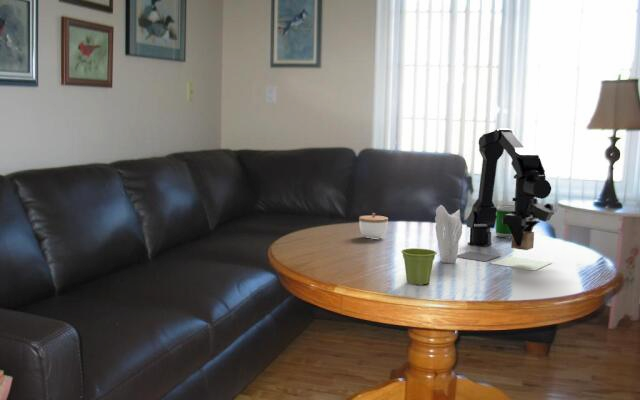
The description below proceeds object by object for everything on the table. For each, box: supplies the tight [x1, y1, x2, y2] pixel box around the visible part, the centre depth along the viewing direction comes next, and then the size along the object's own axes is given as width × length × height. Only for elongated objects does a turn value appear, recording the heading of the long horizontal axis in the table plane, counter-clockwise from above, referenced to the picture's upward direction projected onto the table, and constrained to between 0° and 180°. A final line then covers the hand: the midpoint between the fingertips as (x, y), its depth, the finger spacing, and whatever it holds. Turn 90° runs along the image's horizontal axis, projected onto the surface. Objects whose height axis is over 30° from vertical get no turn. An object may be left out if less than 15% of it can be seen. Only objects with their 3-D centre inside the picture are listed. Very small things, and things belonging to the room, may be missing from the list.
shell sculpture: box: [434, 204, 463, 264], centre depth 205 cm, size 8×8×18 cm
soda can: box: [495, 204, 515, 239], centre depth 252 cm, size 8×8×12 cm
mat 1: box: [457, 250, 501, 263], centre depth 215 cm, size 11×11×1 cm
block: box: [510, 231, 535, 251], centre depth 205 cm, size 5×5×5 cm
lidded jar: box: [358, 212, 389, 238], centre depth 246 cm, size 11×11×9 cm
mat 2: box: [490, 255, 553, 272], centre depth 206 cm, size 14×14×1 cm
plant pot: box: [400, 247, 437, 286], centre depth 179 cm, size 9×9×9 cm
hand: (522, 244), depth 205 cm, fingers closed on block, 5 cm apart
